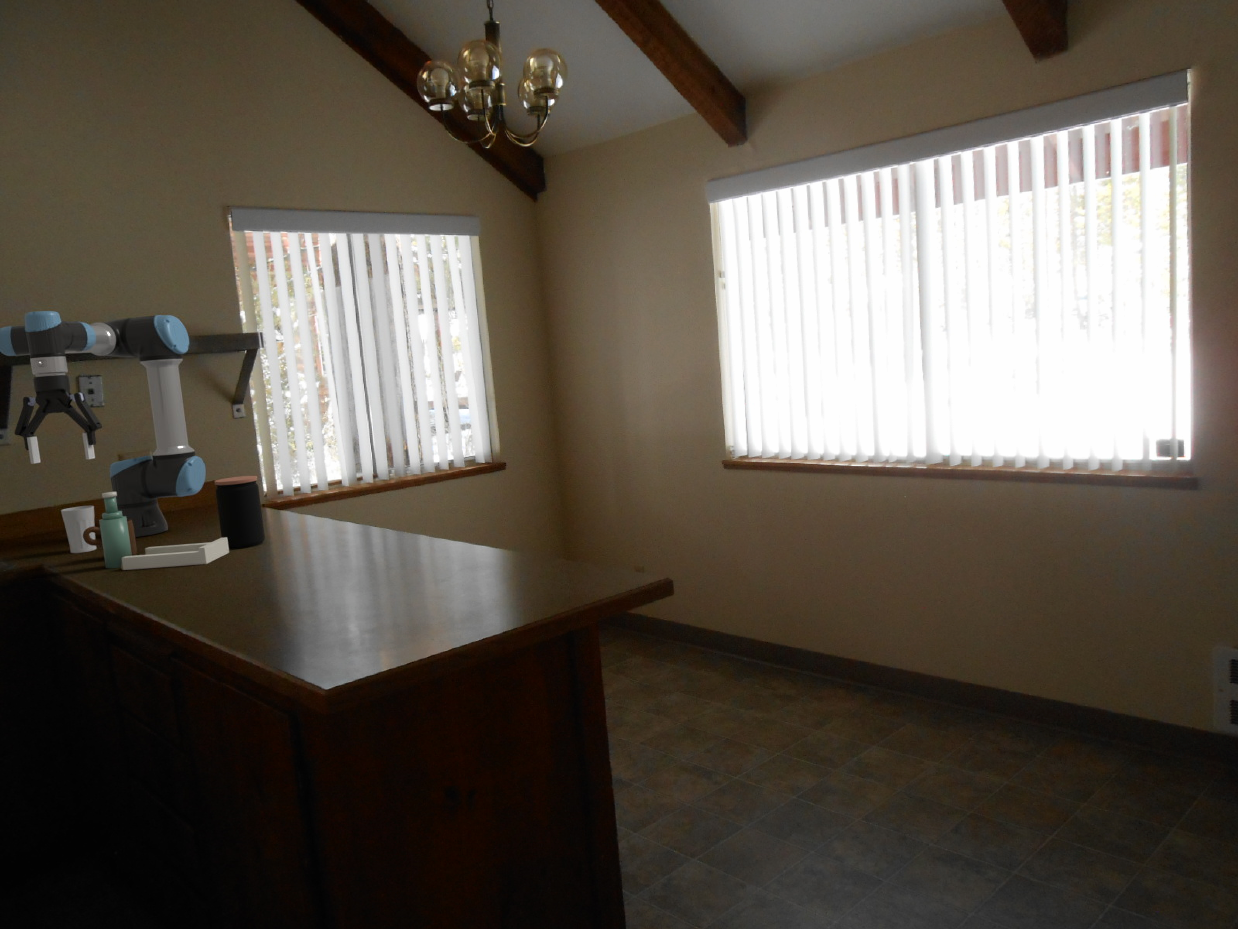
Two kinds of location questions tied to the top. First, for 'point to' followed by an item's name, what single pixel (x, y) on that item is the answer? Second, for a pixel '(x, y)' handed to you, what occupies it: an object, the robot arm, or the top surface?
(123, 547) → the bottle
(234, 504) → the coffee jar
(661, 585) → the top surface
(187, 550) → the rest
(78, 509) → the cup
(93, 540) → the mug
